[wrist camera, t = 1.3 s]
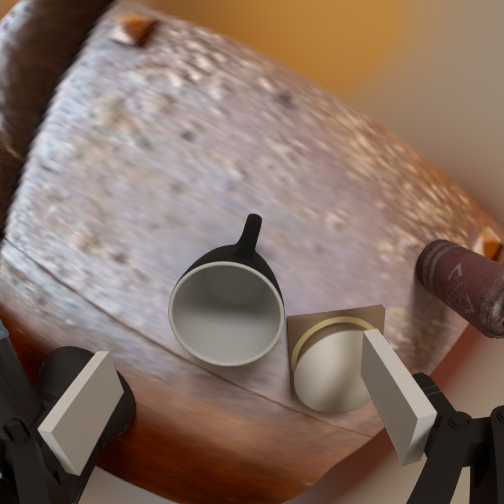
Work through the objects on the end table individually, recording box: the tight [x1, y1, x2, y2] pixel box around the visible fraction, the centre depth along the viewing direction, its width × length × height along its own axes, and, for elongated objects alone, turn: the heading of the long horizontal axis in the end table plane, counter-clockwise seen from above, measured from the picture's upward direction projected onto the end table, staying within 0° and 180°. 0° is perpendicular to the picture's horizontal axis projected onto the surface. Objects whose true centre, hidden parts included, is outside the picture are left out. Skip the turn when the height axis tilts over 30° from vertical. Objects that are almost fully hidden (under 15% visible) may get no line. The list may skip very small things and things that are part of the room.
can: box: [417, 239, 504, 339], centre depth 26 cm, size 6×6×14 cm
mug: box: [168, 214, 285, 366], centre depth 28 cm, size 12×9×10 cm
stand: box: [287, 305, 385, 413], centre depth 33 cm, size 11×11×5 cm
